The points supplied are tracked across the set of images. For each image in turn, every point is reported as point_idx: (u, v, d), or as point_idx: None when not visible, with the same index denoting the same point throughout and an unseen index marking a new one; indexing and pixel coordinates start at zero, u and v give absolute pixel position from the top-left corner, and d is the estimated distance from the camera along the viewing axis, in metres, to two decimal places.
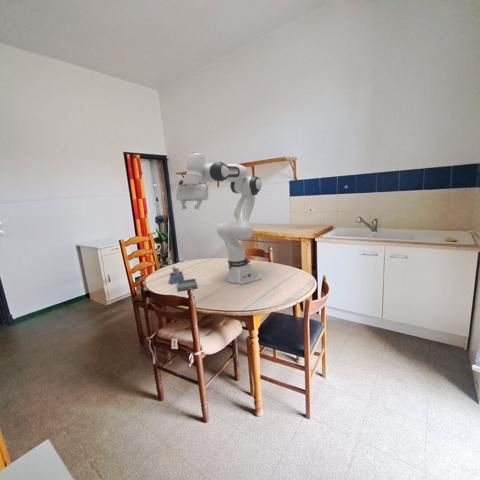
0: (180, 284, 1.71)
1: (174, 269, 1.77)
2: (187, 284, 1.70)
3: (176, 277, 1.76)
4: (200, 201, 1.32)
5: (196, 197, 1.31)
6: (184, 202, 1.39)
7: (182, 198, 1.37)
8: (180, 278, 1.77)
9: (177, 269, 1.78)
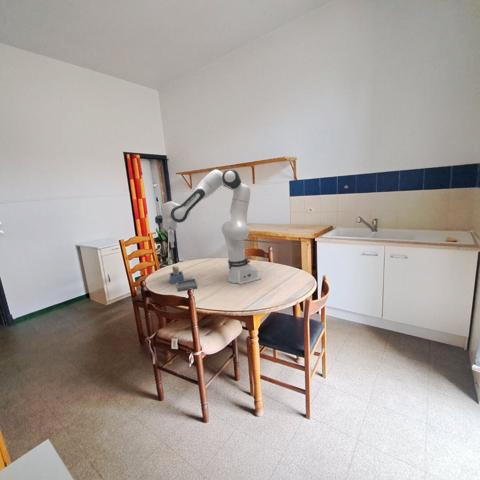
0: (180, 284, 1.71)
1: (174, 269, 1.77)
2: (187, 284, 1.70)
3: (176, 277, 1.76)
4: (172, 242, 1.69)
5: None
6: None
7: None
8: (180, 278, 1.77)
9: (177, 269, 1.78)
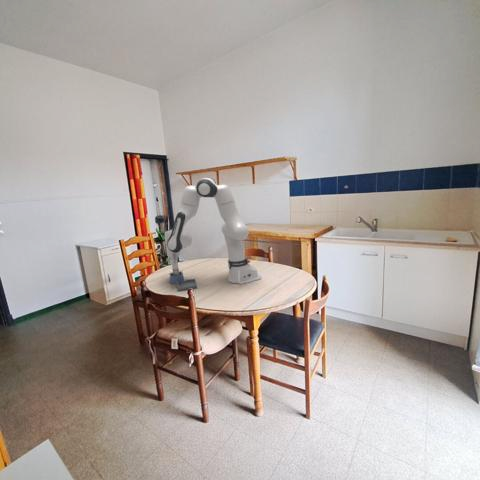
0: (180, 284, 1.71)
1: None
2: (187, 284, 1.70)
3: (176, 277, 1.76)
4: None
5: None
6: None
7: None
8: (180, 278, 1.77)
9: (177, 269, 1.78)
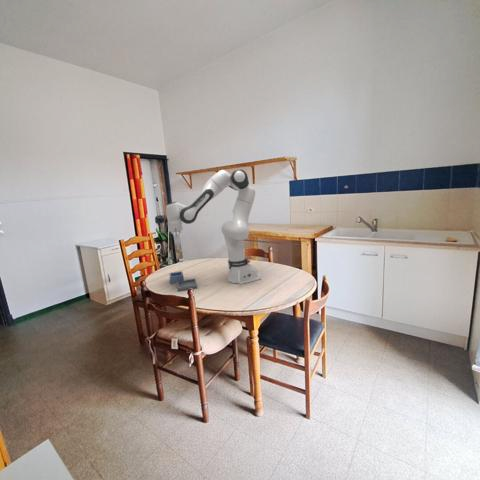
0: (180, 284, 1.71)
1: None
2: (187, 284, 1.70)
3: (176, 277, 1.76)
4: None
5: None
6: None
7: None
8: (180, 278, 1.77)
9: None
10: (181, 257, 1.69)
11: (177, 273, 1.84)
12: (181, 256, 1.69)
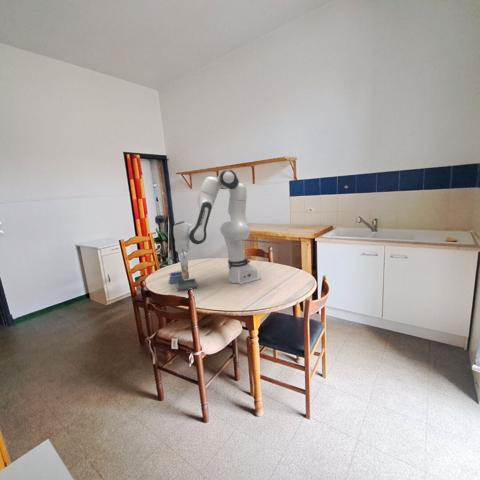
0: (180, 284, 1.71)
1: None
2: (187, 284, 1.70)
3: (176, 277, 1.76)
4: None
5: (181, 262, 1.60)
6: None
7: None
8: (180, 278, 1.77)
9: (186, 265, 1.65)
10: (187, 277, 1.66)
11: (177, 273, 1.84)
12: (187, 276, 1.66)
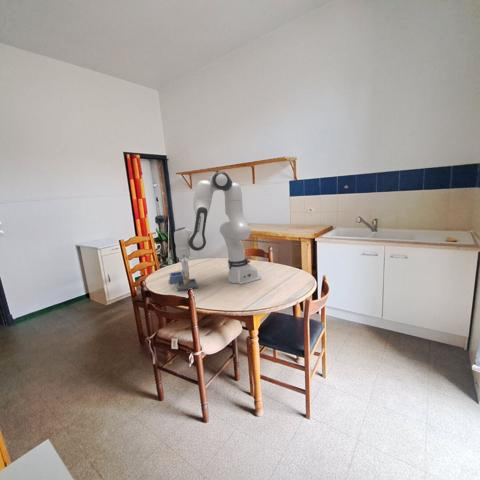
0: (180, 284, 1.71)
1: None
2: None
3: (176, 277, 1.76)
4: (186, 271, 1.61)
5: (182, 268, 1.61)
6: None
7: None
8: (180, 278, 1.77)
9: None
10: (188, 284, 1.67)
11: (177, 273, 1.84)
12: (189, 283, 1.67)
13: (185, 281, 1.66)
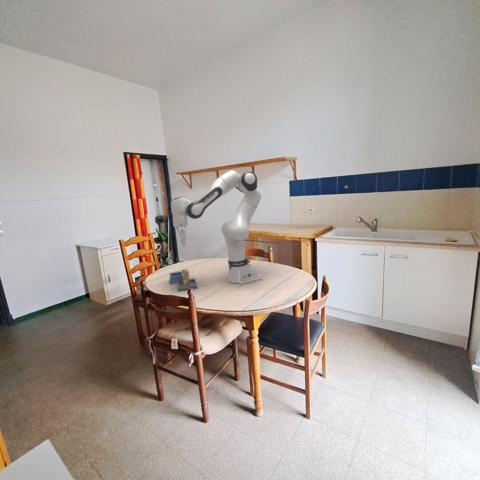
0: (180, 284, 1.71)
1: (184, 272, 1.65)
2: None
3: (176, 277, 1.76)
4: (183, 240, 1.60)
5: None
6: None
7: None
8: (180, 278, 1.77)
9: (187, 272, 1.66)
10: (188, 284, 1.67)
11: (177, 273, 1.84)
12: (189, 283, 1.67)
13: (185, 281, 1.66)
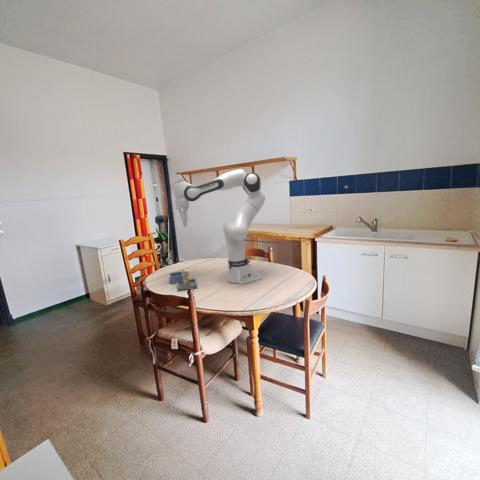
0: (180, 284, 1.71)
1: (184, 272, 1.65)
2: None
3: (176, 277, 1.76)
4: (185, 221, 1.73)
5: None
6: None
7: None
8: (180, 278, 1.77)
9: (187, 272, 1.66)
10: (188, 284, 1.67)
11: (177, 273, 1.84)
12: (189, 283, 1.67)
13: (185, 281, 1.66)
